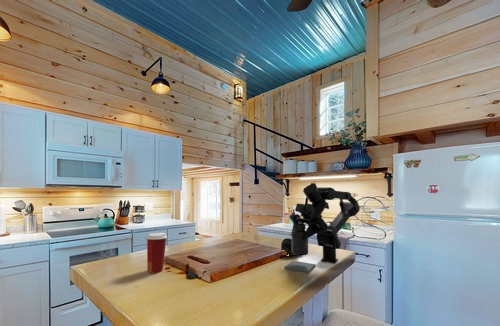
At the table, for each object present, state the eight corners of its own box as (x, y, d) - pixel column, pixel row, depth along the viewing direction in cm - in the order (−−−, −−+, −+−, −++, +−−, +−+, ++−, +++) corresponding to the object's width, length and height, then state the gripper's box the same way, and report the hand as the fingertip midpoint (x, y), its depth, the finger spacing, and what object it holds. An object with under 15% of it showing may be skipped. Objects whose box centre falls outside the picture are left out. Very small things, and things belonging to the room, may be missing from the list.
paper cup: (168, 268, 99) (170, 232, 101) (160, 274, 92) (161, 236, 93) (150, 267, 100) (152, 232, 101) (140, 273, 92) (142, 235, 94)
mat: (293, 262, 108) (292, 260, 108) (315, 266, 103) (315, 264, 103) (284, 269, 100) (284, 266, 100) (308, 273, 94) (308, 270, 95)
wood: (208, 279, 88) (208, 270, 89) (187, 281, 87) (187, 272, 87) (204, 262, 110) (205, 255, 110) (187, 262, 108) (188, 255, 108)
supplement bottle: (310, 256, 99) (309, 225, 100) (292, 255, 99) (292, 225, 100) (306, 251, 105) (306, 223, 107) (290, 251, 106) (290, 222, 107)
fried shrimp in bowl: (273, 246, 119) (288, 229, 134) (284, 267, 118) (298, 248, 133) (288, 241, 114) (302, 224, 128) (300, 263, 113) (312, 243, 128)
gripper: (292, 196, 114) (272, 222, 108) (321, 197, 98) (301, 228, 92) (305, 212, 117) (287, 238, 111) (336, 216, 101) (317, 247, 95)
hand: (297, 237), depth 102 cm, fingers closed on supplement bottle, 7 cm apart
